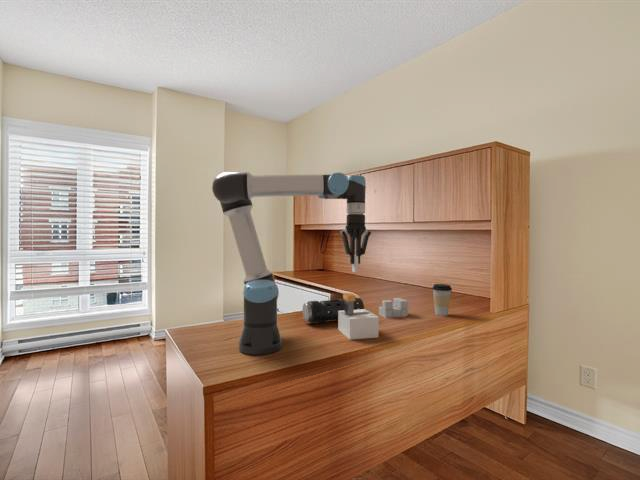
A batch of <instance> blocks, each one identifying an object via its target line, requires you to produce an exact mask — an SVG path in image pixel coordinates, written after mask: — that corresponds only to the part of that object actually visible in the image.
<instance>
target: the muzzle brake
mask: <svg viewBox="0 0 640 480" xmlns="http://www.w3.org/2000/svg"><path fill="white" fill-rule="evenodd" d="M359 309H365V305H364V301H363V300H362V299H361V297H355V301H354V310H359ZM301 310H302V317H303V320H304V321H305V322H309V323H310V324H312V323H317V324H324V323H326V322H328V321H329V322H330V321H336V322H338V311H342V310H345V300H344V299H343V298H342V299H341V298H340V299H332V300H331V299H329V300H327V299H326V300H320V301H318V300H311V301H310V300H309V301H307V302H304V303H303V305H302V309H301Z"/></svg>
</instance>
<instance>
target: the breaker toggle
mask: <svg viewBox="0 0 640 480" xmlns="http://www.w3.org/2000/svg"><path fill="white" fill-rule="evenodd" d="M355 298H356V295H355V294H354V293H351V292H350V293H348V292H347V293H342V299H344V300H345V313H347V314H354V301H355Z"/></svg>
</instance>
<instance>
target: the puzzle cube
mask: <svg viewBox="0 0 640 480" xmlns="http://www.w3.org/2000/svg"><path fill="white" fill-rule="evenodd" d="M381 303H382V304H381V305H382V306H378V315H380V316H382V317H383V318H384V319H390V318H406V316H409V315H408V314H409V313H408V311H409V310H408V309H409V306H408V305H409V304H408V303H409V301H408V300H406V299H404V298H401V297H395V298H393V300H390V299H386V300H382V302H381Z"/></svg>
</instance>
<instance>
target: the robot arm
mask: <svg viewBox="0 0 640 480" xmlns="http://www.w3.org/2000/svg"><path fill="white" fill-rule="evenodd" d="M366 184H367V183H366V177H365V176H363V175H361V174H356V175H355V174H352V175H348V176H347V175H346V174H344V173H342V172H334V173H332V174H259V175H258V174H257V175H256V174H255V175H254V174H251V173H250V172H249V171H248V172H243V171H242V172H241V171H226V172H225V171H224V172H222V173H219V174H218V175H217V176H216V177H215V178H214V180H213V181H212V187H211V189H212V190H211V191H212V193H213V195H214V197H215V199H216V200H217V201H219V203H220V206H221V210H222V213H223V215H225V216H226V217H228V219H229V222H230V225H231V230H232V232H233V236H234V239H235V243H236V246H237V249H238V253H239V258H240V259H241V263H242V266H243V267H242V268H243V269H244V273H245V277H244V279H243V284H244V287H243V293H242V294H243V328H242V331H241V334H240V338H239V340H238V350H239V352H241V353H242V354H245V355H252V356H258V355H259V356H261V355H268V354H272V353H276V352H279V350H281V349H282V347H283V341H282V336H281V333H280V331H279V327H278V299H279V294H280V293H279V287H278V285H277V283H276V281H275V278H274V275H273V272H272V271H271V270H270V269H268V268H267V265H266V264H267V263H266V261H265V258H264V254H263V251H262V246H261V244H260V241H259V237H258V234H257V229H256V227H255V223H254V220H253V216H252V213H251V211H252V209H253V202H252V199H253V198H258V197H261V198H263V197H302V196H303V197H304V196H305V197H306V196H307V197H308V196H311V197H312V196H315V197H316V196H317V198H318V199H324V200H346V213H347V215H346V224H345V229H343V230H340V232H339V233H340V235H341V237H342V242H343V246H344V251H345V254H346V255H348V256H349V258H350V261H349V262H350V264H351V265H352V266H351V272H352V273H359V265H360V264H361V256H363V255H365V254H366V249H367V245H368V241H369V239H370V238H369V237H370V236H371V234H372V232H371V231H369V230H368V229H367V228H366V227H367V226H366V215H365V213H366V191H367V190H366V188H367V185H366ZM348 235H349V239H348ZM362 236H363V238H362Z"/></svg>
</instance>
